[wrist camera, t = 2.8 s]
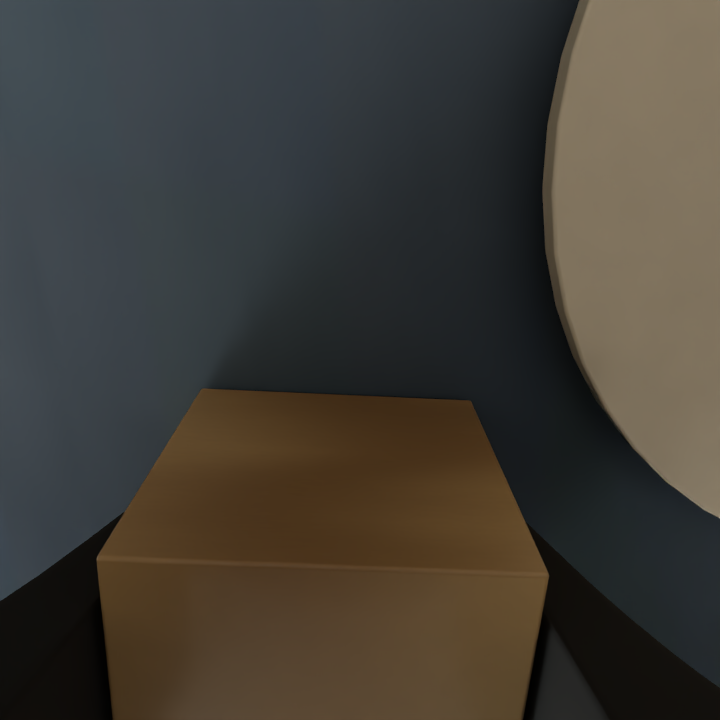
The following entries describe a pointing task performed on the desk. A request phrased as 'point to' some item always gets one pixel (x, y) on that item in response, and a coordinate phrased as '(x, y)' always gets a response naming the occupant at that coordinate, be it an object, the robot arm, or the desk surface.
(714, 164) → the lid
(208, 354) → the desk surface
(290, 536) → the block
